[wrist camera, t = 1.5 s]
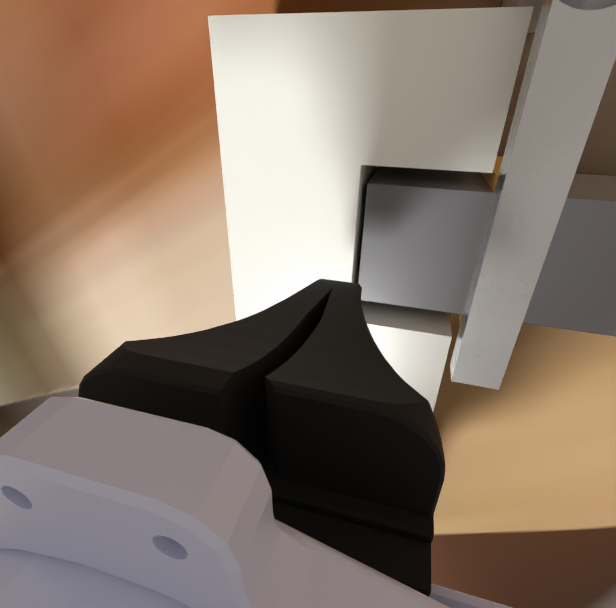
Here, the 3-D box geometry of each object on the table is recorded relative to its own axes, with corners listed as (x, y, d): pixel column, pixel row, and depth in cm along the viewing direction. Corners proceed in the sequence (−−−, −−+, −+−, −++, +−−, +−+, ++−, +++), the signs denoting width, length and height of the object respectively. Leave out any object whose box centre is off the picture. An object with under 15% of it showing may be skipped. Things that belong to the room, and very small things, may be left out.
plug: (706, 305, 16) (808, 383, 12) (370, 265, 20) (354, 314, 15) (789, 171, 14) (962, 209, 9) (382, 150, 17) (367, 170, 12)
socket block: (467, 346, 21) (479, 424, 16) (279, 316, 23) (240, 375, 18) (574, -39, 13) (664, -118, 8) (270, -24, 15) (198, -76, 10)
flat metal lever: (509, 374, 14) (514, 392, 13) (436, 362, 15) (436, 378, 14) (697, -148, 7) (731, -179, 7) (551, -133, 8) (566, -159, 7)
